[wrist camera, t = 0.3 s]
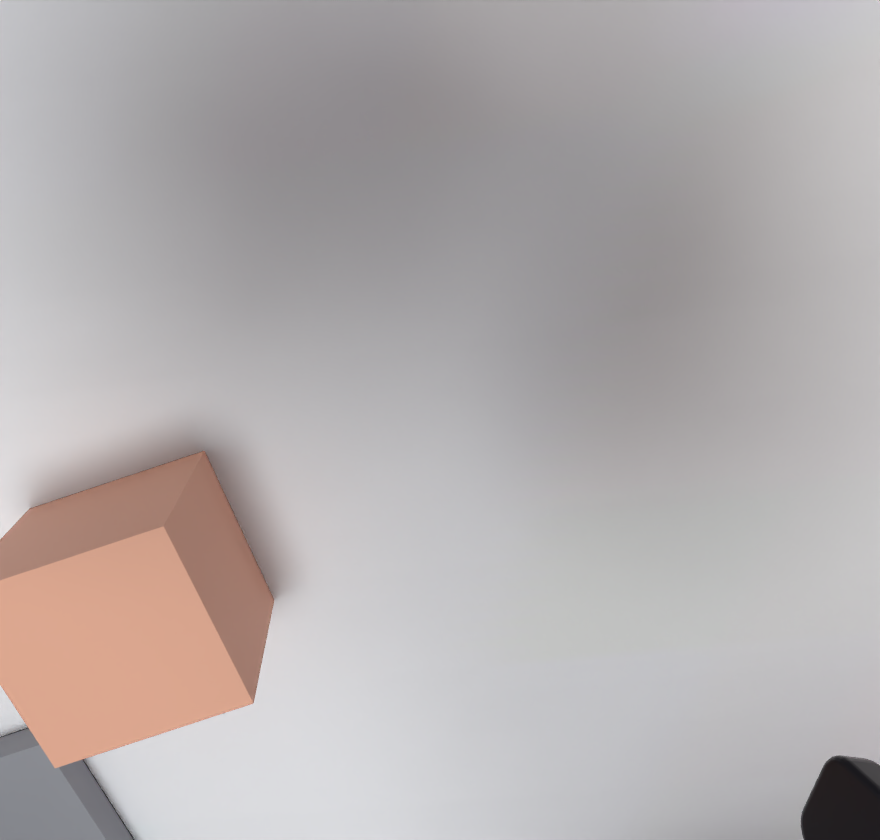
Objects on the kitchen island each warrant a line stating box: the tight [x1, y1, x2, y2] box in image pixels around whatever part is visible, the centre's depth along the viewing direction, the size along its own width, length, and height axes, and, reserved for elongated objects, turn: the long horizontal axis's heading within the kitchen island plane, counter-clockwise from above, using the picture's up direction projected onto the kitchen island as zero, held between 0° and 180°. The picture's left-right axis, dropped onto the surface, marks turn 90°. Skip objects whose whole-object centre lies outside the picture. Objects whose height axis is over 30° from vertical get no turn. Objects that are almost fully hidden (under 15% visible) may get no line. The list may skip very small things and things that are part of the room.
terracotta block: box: [0, 451, 274, 768], centre depth 19 cm, size 5×5×4 cm
